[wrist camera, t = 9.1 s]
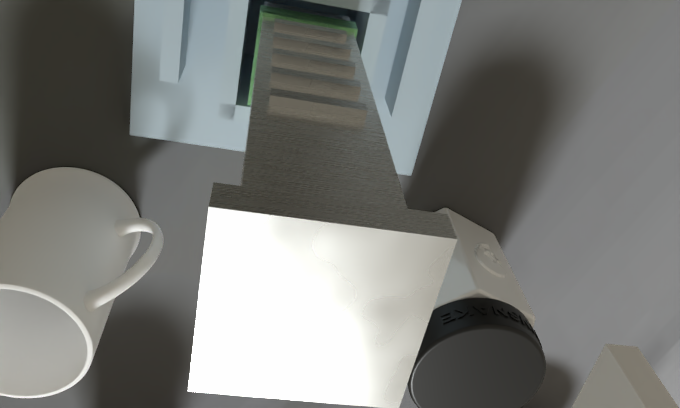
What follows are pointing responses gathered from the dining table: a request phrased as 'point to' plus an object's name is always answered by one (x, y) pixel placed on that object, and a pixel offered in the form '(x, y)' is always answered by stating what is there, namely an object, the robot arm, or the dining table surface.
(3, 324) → the mug
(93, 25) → the dining table surface
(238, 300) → the column
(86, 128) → the dining table surface
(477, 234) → the jar
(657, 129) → the dining table surface
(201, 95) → the stand base
